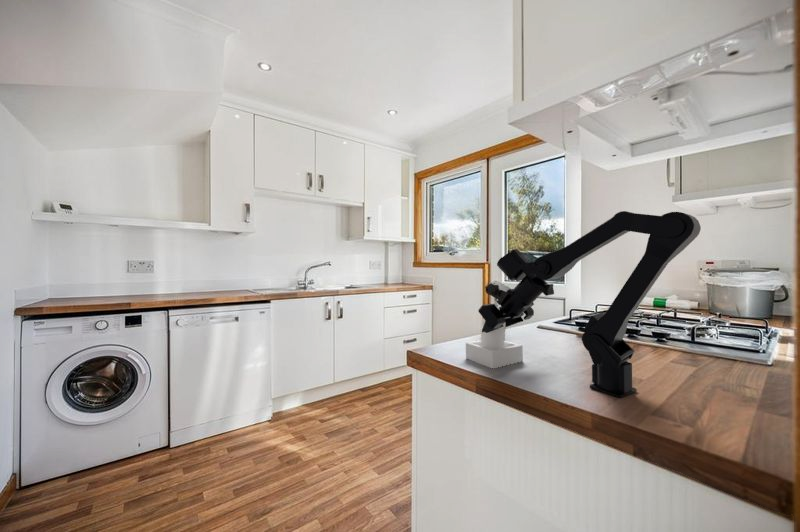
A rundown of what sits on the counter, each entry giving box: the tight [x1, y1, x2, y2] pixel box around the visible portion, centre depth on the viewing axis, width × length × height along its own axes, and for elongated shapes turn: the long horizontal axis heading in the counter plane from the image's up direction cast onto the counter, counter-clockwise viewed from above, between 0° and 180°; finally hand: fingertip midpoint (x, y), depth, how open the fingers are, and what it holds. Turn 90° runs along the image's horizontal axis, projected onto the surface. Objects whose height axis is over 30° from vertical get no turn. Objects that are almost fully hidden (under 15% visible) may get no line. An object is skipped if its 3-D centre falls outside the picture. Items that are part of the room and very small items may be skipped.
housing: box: [465, 339, 524, 370], centre depth 94 cm, size 11×11×4 cm
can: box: [480, 317, 507, 350], centre depth 93 cm, size 6×6×12 cm
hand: (489, 330), depth 95 cm, fingers closed on can, 6 cm apart
